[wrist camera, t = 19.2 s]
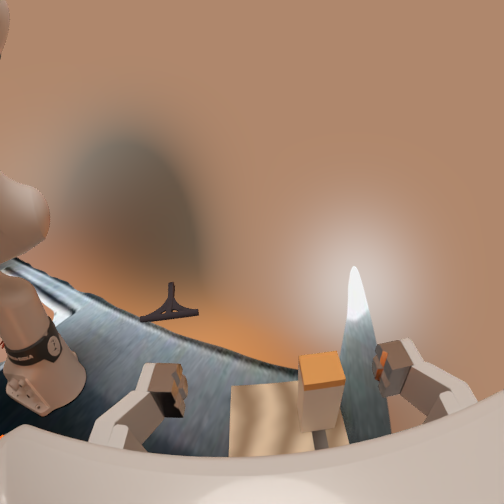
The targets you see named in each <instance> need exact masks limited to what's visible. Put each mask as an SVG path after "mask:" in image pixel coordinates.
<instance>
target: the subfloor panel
mask: <svg viewBox="0 0 504 504" xmlns="http://www.w3.org/2000/svg"><path fill="white" fill-rule="evenodd" d="M297 401H298V381H292V382H282V383H271V384H259V385H243V386H231V410H230V437H229V457H252V456H268V455H280V454H290V453H299V452H307V451H314V450H321V449H327V448H333V447H338V446H343V445H348V444H349V441H348V437H347V433H346V429H345V426H344V422H343V418H342V414H341V410H340V408H339V412H338V416H337V420H336V424H335V428H330V429H324V430H318V431H311V432H303V433H301V428H300V422H299V415H298V408H297Z"/></svg>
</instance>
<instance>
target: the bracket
mask: <svg viewBox="0 0 504 504" xmlns="http://www.w3.org/2000/svg"><path fill="white" fill-rule="evenodd" d="M168 287H169V288H168V298H167V300H166V302H165V303H164V304H163V305H162V306H161V307H160V308H159V309H157V310H156V311H154V312H153V313H151V314H149V315H146V316H141V317H140V322H148V321H150V322H154V321H162V320H170V319H178V318H185V317H192V316H199V312H198V309H189V308H185V307H183V306H181V305H179V304H178V303H177V302H176V300H175V298H174V295H175V286H174V282H170V283H169V285H168ZM173 310H177V311H178V312H173ZM165 311H166V313H164V314H162V313H163V312H165Z"/></svg>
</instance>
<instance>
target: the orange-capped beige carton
mask: <svg viewBox="0 0 504 504" xmlns="http://www.w3.org/2000/svg"><path fill="white" fill-rule="evenodd" d="M345 380H346V378H345V375H344V372H343V369H342V366H341V363H340V360H339V357H338V354H337V351H331V352H324V353H317V354H309V355H301V356H299V365H298V401H297V408H298V415H299V422H300V428H301V433H303V432H311V431H318V430H324V429H330V428H335V424H336V420H337V416H338V412H339V408H340V403H341V399H342V394H343V390H344V385H345Z"/></svg>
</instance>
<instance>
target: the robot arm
mask: <svg viewBox="0 0 504 504" xmlns="http://www.w3.org/2000/svg"><path fill="white" fill-rule="evenodd" d="M9 22H10V15H9V8H8V4H7V2H6V0H0V58H1V52H2V50H3V48H4V45H5V42H6V39H7V35H8V31H9ZM49 225H50V212H49V207H48V204H47V202H46V200H45V198H44V196H43V195H42V194H41V193H40V191H38V190H37V189H36V188H35V187H33V186H30V185H25V184H21V183H18V182H16V181H14V180H12V179H11V178H9V177H7V176H6V175H5V174H4V173H2V172H1V171H0V264H1V263H3V262H6V261H8V260H10V259H12V258H15V257H17V256H19V255H22V254H24V253H26V252H27V251H29V250H30V249H32V248H33V247H35V246H36V245H37V244H39V243H40V242H42V241H43V240H44V239H45V238H46V236H47V233H48V230H49ZM0 337H1V338H2V340H3V341H2V342H1V343H0V345H1V344H2V343H3V342H4V343H3V345H2V349H3V348H4V346H5V349H6V353H7V355H8V356H7V359H6V362H5V364H4V368H3V372H4V375H5V377H6V378H7V380H8V383H7V387H6V393H7V394H8V396H10V397H11V398H13V399H14V400H16V401H17V402H19V403H20V404H22V405H24V406H25V407H27V408H28V409H30V410H32V411H33V412H35V413H37V414H39V415H40V416H46V415H47V414H49V413H50V412H51V411H53V410H54V409H56V408H59V407H62V406H64V405H66V404H68V403H70V402H71V401H72V400H74V399H75V398H76V397H77V396H78V395H79V393H80V392H81V390H82V389H83V387H84V384H85V381H86V372H85V369H84V367H83V366H82V365H81V364H80V363H79V361H78V357H77V355H76V353H75V352H74V351H71V350H70V348H69V347H68V345H67V344H66V343H65V341H64V340H63V338H62V337H61V335H60V334H59V333H58V331H57V329H56V327H55V324H54V323H53V321H52V320H51V318H50V317H49V316H47V314H46V312H45V310H44V308H43V305H42V303H41V301H40V299H39V297H38V294H37V292H36V290H35V288H34V287H33V285H32V284H31V283H29V282H28V281H27V280H25V279H23V278H20V277H13V276H8V275H5V274H4V273H2V272H1V271H0ZM375 352H376V356H375V357H374V358H373V361H372V371H373V375H374V378H375V379H376V380H378V381H379V385H378V388H379V390H380V393H381V395H382V398H384V397H388V396H393V395H397V394H400V395H401V396H402V397H404V398H405V399H406V400H407V401H408V402H410V403H411V404H412V405H413V406H415V407H416V408H417V409H418V410H420V411H421V412H422V413H423V414H425V415H426V416H427V418H426V420H425V421H424V423H423V424H422V425H419V426H416V427H413V428H410V429H407V430H404V431H400V432H397V433H393V434H390V435H386V436H383V437H379V438H375V439H371V440H367V441H362V442H358V443H353V444H348V445H343V446H338V447H333V448H327V449H321V450H314V451H307V452H299V453H290V454H280V455H268V456H252V457H194V456H177V455H165V454H155V453H148V452H147V451H146V450H145V449H144V447H143V446H142V443H143V442H144V441H145V440H146V439H147V438H148V437H149V435H150V434H151V433H152V432H153V431H154V430H155V429H156V428H157V426H158V425H159V424H160V423H161V422H162V421H163V419H164V417H173V418H183V416H184V411H185V403H184V401H183V400H184V399H185V398H186V397H187V393H188V385H187V380H186V377H185V376H184V375H182V370H183V369H182V367H181V364H172V363H145V365H144V366H143V369H142V372H141V375H140V378H139V381H138V384H137V387H136V390H135V391H131V392H130V393H129V394H128V395H126V396H125V397H124V398H123V399H121V400H120V401H119V402H118V403H117V404H115V405H114V406H113V407H112V408H110V409H109V410H108V411H107V412H105V413H104V414H103V415H102V416H100V417H99V418H98V419H97V420H96V422H95V424H94V427H93V430H92V432H91V435H90V438H89V441H88V442H85V441H81V440H77V439H73V438H70V437H66V436H62V435H59V434H55V433H52V432H49V431H46V430H42V429H39V428H37V427H34V426H31V425H27V424H24V425H21V426H19V427H17V428H15V429H14V430H12V431H11V432H9V433H7V434H6V435H4V436H3V437H1V438H0V504H504V389H503V390H501V391H500V392H497V393H495V394H494V395H492V396H490V397H488V398H486V399H483V400H481V401H479V402H477V400H476V398H475V396H474V395H473V393H472V391H471V390H470V388H469V386H468V384H467V383H466V382H464V381H462V380H460V379H458V378H456V377H454V376H453V375H451V374H449V373H447V372H445V371H444V370H442V369H440V368H438V367H436V366H434V365H432V364H431V363H429V362H424V360H423V359H422V357H421V355H420V354H419V352H418V350H417V349H416V347H415V345H414V344H413V342H412V340H411V339H410V338H405V339H400V340H396V341H391V342H387V343H382V344H377V346H376V349H375Z"/></svg>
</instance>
